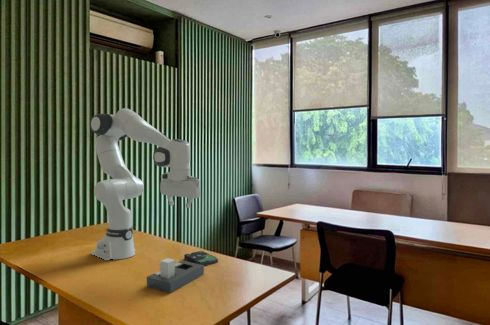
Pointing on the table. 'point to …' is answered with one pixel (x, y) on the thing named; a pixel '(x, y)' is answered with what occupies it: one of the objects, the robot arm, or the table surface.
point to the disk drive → (201, 258)
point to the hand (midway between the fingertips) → (179, 206)
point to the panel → (176, 277)
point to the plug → (167, 268)
